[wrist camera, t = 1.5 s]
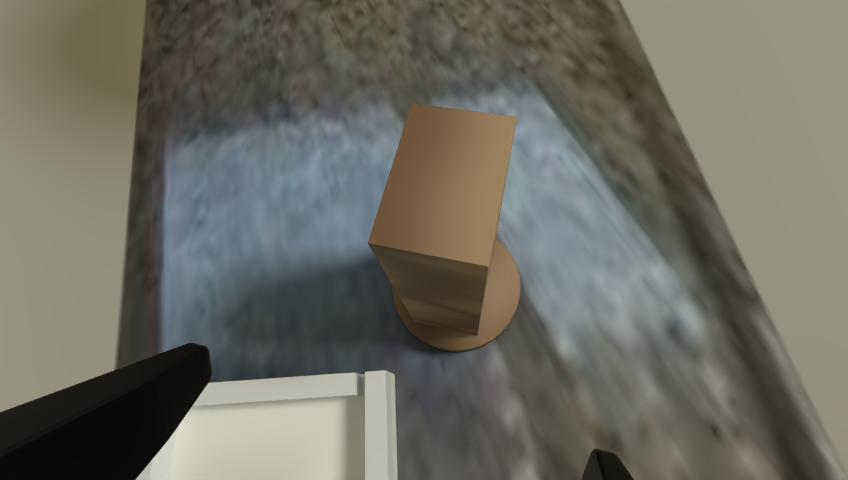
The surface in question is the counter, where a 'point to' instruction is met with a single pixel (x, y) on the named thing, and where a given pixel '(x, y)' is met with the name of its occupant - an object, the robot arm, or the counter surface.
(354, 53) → the counter surface
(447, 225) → the brown upright block
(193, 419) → the tray
